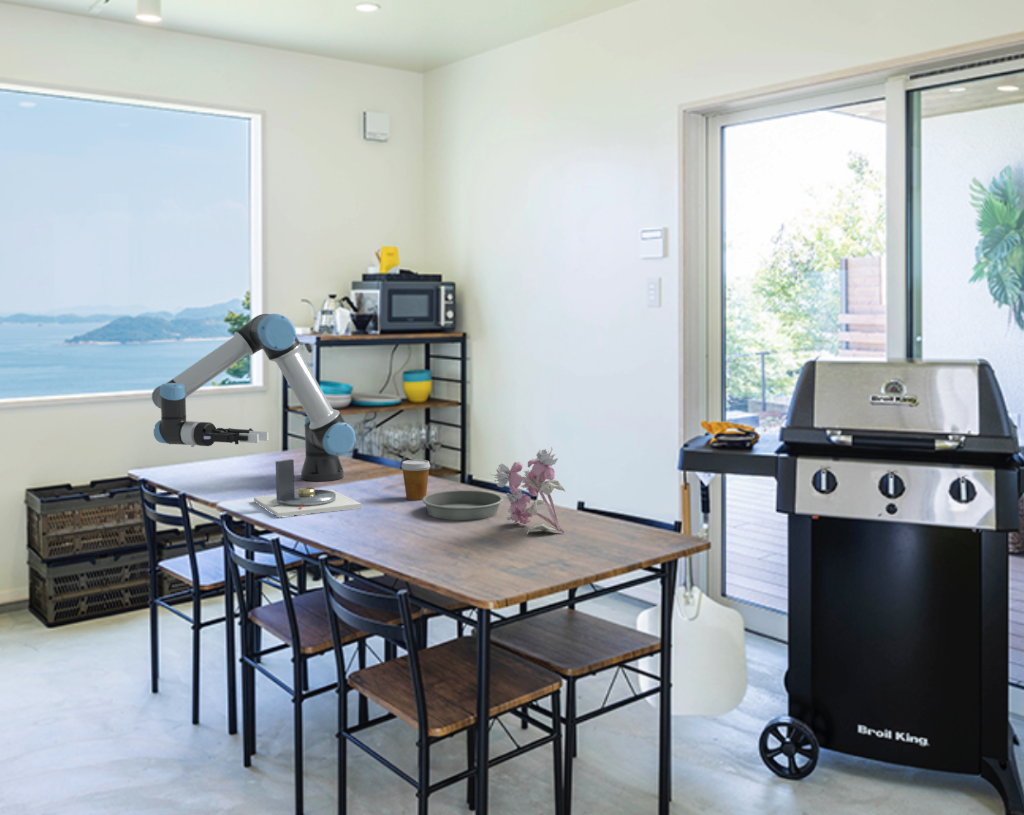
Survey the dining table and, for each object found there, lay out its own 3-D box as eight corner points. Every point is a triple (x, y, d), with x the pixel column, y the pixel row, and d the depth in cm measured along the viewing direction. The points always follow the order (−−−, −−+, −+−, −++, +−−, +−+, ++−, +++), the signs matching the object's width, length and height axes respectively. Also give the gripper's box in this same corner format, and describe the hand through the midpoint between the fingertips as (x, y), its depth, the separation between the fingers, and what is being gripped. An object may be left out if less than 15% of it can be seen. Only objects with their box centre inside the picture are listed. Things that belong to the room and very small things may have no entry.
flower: (581, 514, 275) (544, 438, 275) (590, 524, 253) (550, 441, 252) (520, 544, 275) (482, 468, 274) (523, 557, 252) (482, 474, 252)
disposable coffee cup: (433, 495, 310) (432, 459, 308) (427, 501, 300) (427, 464, 299) (404, 495, 310) (404, 459, 309) (398, 501, 301) (398, 464, 300)
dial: (312, 491, 307) (311, 451, 306) (347, 499, 295) (346, 457, 294) (261, 500, 293) (260, 458, 291) (295, 509, 281) (294, 465, 279)
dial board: (331, 493, 313) (331, 488, 312) (361, 508, 290) (361, 502, 290) (253, 502, 299) (253, 496, 299) (278, 518, 277) (278, 512, 277)
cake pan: (430, 524, 271) (430, 509, 270) (416, 506, 295) (416, 492, 294) (512, 519, 278) (512, 504, 277) (492, 501, 301) (492, 488, 301)
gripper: (217, 441, 306) (279, 445, 298) (181, 449, 289) (246, 453, 281) (216, 418, 305) (278, 421, 297) (180, 425, 288) (245, 428, 281)
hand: (262, 437), depth 289 cm, fingers open, 4 cm apart
